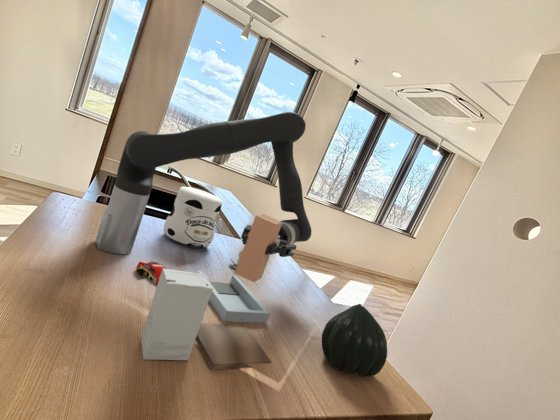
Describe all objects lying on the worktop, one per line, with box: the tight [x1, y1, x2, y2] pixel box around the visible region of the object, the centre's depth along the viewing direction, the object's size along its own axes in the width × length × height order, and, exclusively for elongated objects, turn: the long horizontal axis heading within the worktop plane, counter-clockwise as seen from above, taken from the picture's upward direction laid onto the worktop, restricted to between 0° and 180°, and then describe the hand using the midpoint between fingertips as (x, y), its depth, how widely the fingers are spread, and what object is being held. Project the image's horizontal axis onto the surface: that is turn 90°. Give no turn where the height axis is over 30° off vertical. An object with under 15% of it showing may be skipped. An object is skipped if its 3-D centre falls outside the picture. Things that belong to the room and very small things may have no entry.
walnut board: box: [195, 322, 272, 371], centre depth 74 cm, size 13×13×1 cm
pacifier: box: [230, 249, 243, 270], centre depth 122 cm, size 7×6×6 cm
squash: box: [321, 303, 388, 378], centre depth 85 cm, size 14×15×15 cm
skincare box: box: [140, 268, 213, 361], centre depth 64 cm, size 8×6×15 cm
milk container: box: [163, 186, 223, 249], centre depth 127 cm, size 17×17×18 cm
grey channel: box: [196, 270, 271, 324], centre depth 93 cm, size 12×20×4 cm, turn 33°
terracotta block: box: [234, 214, 282, 283], centre depth 82 cm, size 5×5×14 cm
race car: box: [135, 260, 167, 286], centre depth 91 cm, size 13×5×4 cm, turn 53°
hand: (256, 245), depth 80 cm, fingers closed on terracotta block, 5 cm apart
